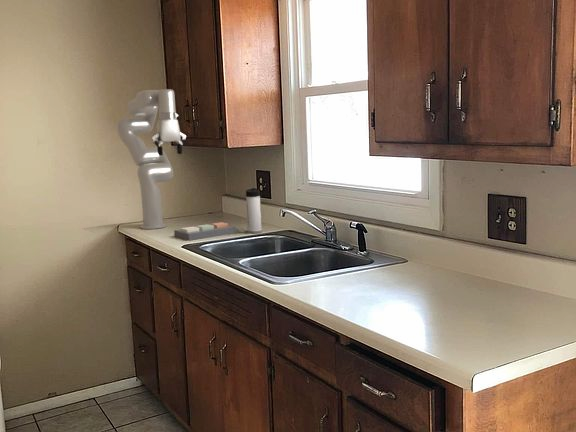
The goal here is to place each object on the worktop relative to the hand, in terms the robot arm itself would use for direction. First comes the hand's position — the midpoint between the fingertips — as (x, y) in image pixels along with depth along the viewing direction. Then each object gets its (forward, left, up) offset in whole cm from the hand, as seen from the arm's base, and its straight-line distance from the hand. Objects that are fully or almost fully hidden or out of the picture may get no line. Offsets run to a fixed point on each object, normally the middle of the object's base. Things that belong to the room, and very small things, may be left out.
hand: (170, 154), depth 300 cm
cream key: (+16, -1, -35) cm, 38 cm away
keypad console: (+16, +7, -37) cm, 41 cm away
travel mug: (+28, +26, -37) cm, 53 cm away
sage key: (+16, +7, -35) cm, 39 cm away
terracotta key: (+16, +15, -35) cm, 41 cm away
